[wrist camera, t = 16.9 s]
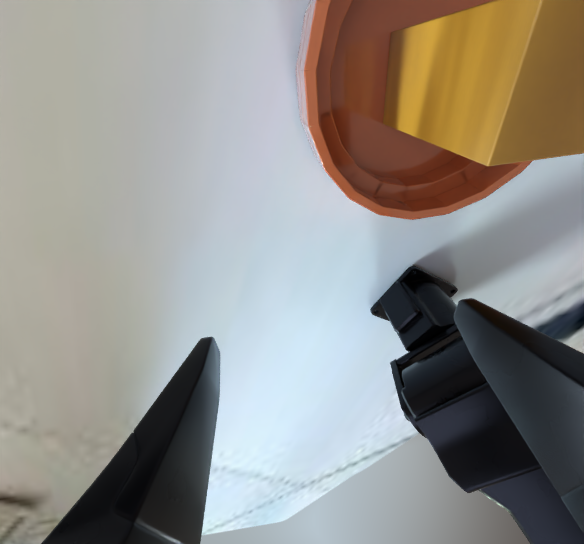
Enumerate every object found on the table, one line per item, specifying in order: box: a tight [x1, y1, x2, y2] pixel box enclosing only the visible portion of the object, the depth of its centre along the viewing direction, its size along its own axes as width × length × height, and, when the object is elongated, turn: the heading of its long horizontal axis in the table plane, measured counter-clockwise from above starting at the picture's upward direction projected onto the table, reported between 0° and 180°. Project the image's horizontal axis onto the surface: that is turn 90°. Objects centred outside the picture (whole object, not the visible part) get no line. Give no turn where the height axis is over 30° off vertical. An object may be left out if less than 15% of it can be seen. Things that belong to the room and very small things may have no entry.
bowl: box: [296, 0, 533, 220], centre depth 15 cm, size 15×15×4 cm
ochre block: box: [383, 0, 584, 166], centre depth 12 cm, size 4×4×10 cm
